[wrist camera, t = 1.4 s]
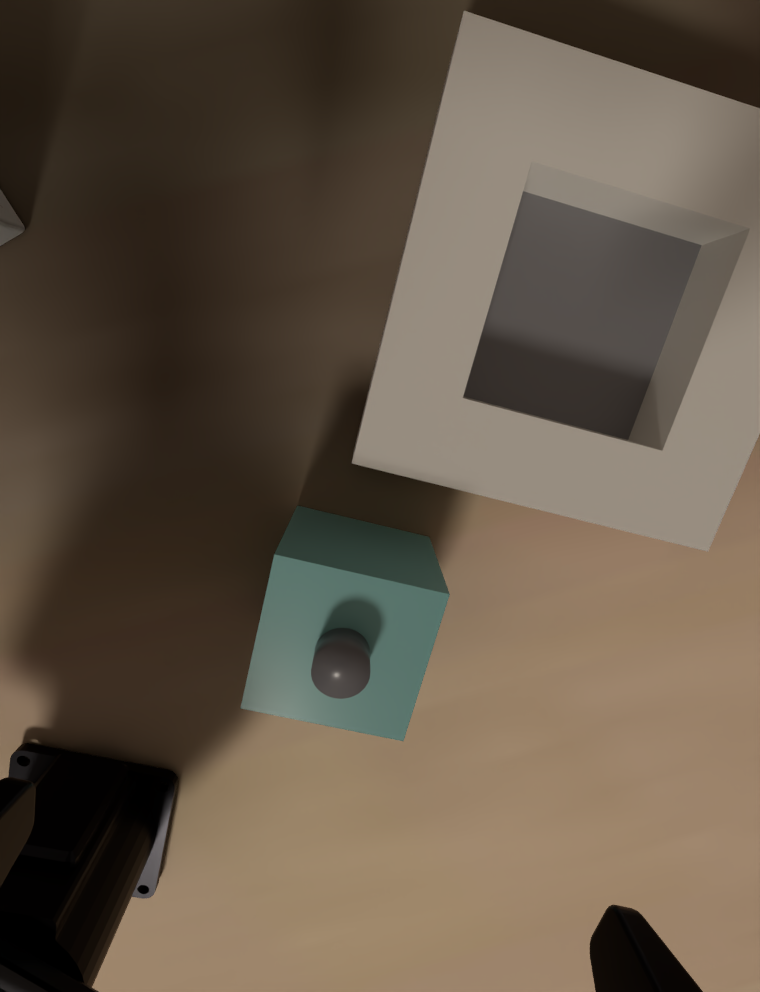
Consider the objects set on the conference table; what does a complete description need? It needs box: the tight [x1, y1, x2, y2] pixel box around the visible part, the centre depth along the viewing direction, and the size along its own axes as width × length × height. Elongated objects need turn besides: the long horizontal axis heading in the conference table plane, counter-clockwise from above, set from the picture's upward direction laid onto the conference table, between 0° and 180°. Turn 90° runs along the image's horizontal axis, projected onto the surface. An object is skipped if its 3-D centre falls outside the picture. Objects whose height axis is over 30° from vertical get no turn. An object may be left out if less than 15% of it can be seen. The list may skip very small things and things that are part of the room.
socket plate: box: [352, 11, 760, 552], centre depth 16 cm, size 12×12×2 cm
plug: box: [241, 505, 450, 741], centre depth 17 cm, size 5×5×6 cm
